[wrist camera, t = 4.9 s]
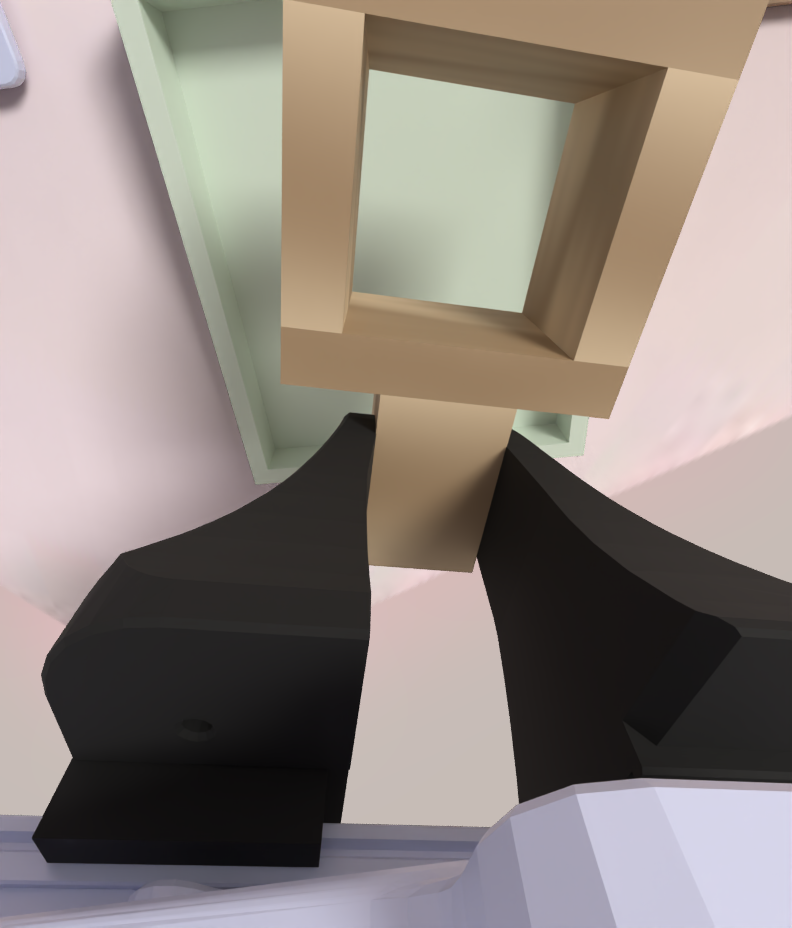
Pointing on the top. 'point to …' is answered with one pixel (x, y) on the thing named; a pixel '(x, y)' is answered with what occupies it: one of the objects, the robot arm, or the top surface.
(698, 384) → the top surface
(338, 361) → the tan frame with handle
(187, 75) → the tray
